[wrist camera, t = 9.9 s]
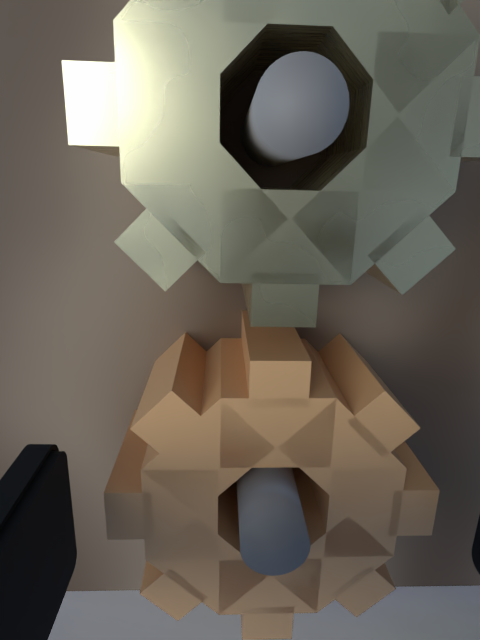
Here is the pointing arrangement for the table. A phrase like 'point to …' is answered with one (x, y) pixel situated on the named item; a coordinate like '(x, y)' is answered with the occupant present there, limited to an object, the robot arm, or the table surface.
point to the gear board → (207, 303)
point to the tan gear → (267, 452)
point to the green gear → (321, 179)
